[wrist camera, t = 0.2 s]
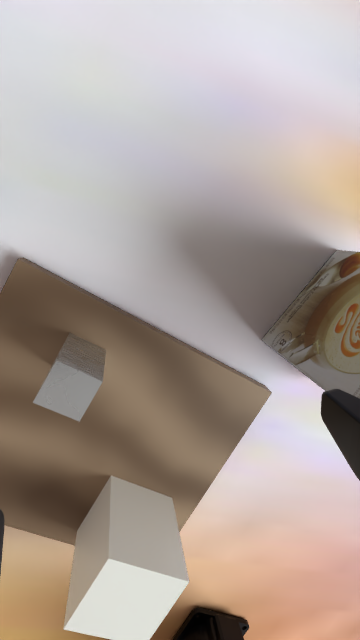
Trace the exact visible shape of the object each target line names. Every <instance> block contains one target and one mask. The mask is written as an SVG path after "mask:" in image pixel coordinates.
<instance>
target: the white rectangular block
mask: <svg viewBox="0 0 360 640" xmlns="http://www.w3.org/2000/svg"><path fill="white" fill-rule="evenodd" d="M188 583H189V578H188V573H187V568H186V563H185V558H184V553H183V549H182V544H181V539H180V534H179V529H178V524H177V519H176V514H175V509H174V504H173V500H172V498H171V497H168V496H166V495H163V494H160V493H157V492H155V491H152V490H149V489H146V488H144V487H141V486H138V485H136V484H133V483H130V482H127V481H125V480H122V479H119V478H117V477H114V476H110V478H109V480H108V481H107V483H106V485H105V486H104V488H103V489H102V491H101V493H100V494H99V496H98V498H97V499H96V501H95V503H94V504H93V506H92V507H91V509H90V511H89V512H88V514H87V516H86V517H85V519H84V520H83V522H82V524H81V525H80V527H79V529H78V530H77V535H76V542H75V550H74V557H73V564H72V571H71V578H70V585H69V593H68V600H67V607H66V614H65V621H64V630H68V631H73V632H78V633H82V634H87V635H92V636H97V637H101V638H106V639H111V640H150V638H151V637H152V635H153V634H154V633H155V631H156V630H157V628H158V627H159V625H160V624H161V622H162V621H163V619H164V618H165V616H166V615H167V614H168V612H169V611H170V609H171V608H172V606H173V605H174V603H175V602H176V600H177V599H178V598H179V596H180V595H181V593H182V592H183V590H184V589H185V587H186V586H187V584H188Z"/></svg>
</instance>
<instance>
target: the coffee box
mask: <svg viewBox="0 0 360 640" xmlns="http://www.w3.org/2000/svg"><path fill="white" fill-rule="evenodd" d="M262 341H263V342H264V343H265V344H266V345H268V346H269V347H270V348H272V349H273V350H274V351H276V352H277V353H278V354H279V355H281V356H282V357H283V358H284V359H286V360H287V361H288V362H289V363H291V364H292V365H293V366H294V367H296V368H297V369H298V370H299V371H301V372H302V373H303V374H304V375H306V376H307V377H308V378H310V379H311V380H312V381H313V382H315V383H316V384H317V385H318V386H320V387H321V388H322V389H324V390H325V391H328V390H332V389H340V390H343V391H345V392H347V393H349V394H351V395H354V396H356V397H358V398H360V252H352V251H342V250H337V251H336V252H335V253H334V254H333V255H332V256H331V257H330V259H329V260H328V261H327V262H326V263H325V265H324V266H323V267H322V268H321V269H320V271H319V272H318V273H317V274H316V275H315V277H314V278H313V279H312V280H311V281H310V283H309V284H308V285H307V286H306V287H305V288H304V290H303V291H302V292H301V293H300V294H299V296H298V297H297V298H296V299H295V300H294V302H293V303H292V304H291V305H290V306H289V307H288V309H287V310H286V311H285V312H284V313H283V315H282V316H281V317H280V318H279V319H278V321H277V322H276V323H275V324H274V325H273V327H272V328H271V329H270V330H269V331H268V333H267V334H266V335H265V336H264V338H263V339H262Z"/></svg>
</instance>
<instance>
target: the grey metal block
mask: <svg viewBox="0 0 360 640" xmlns="http://www.w3.org/2000/svg"><path fill="white" fill-rule="evenodd" d="M105 356H106V350H105V349H103V348H101V347H99V346H97V345H95V344H93V343H91V342H89V341H87V340H85V339H83V338H81V337H78V336H76V335H74V334H72V333H69V335H68V337H67V339H66V341H65V342H64V344H63V346H62V348H61V350H60V351H59V353H58V355H57V357H56V359H55V360H54V362H53V364H52V366H51V368H50V370H49V372H48V374H47V376H46V378H45V380H44V382H43V384H42V385H41V387H40V389H39V391H38V393H37V395H36V397H35V399H34V401H33V403H35V404H37V405H40V406H42V407H45V408H47V409H50V410H52V411H55V412H57V413H60V414H62V415H64V416H67V417H69V418H72V419H74V420H77V421H79V422H80V420H81V418H82V416H83V415H84V413H85V411H86V410H87V408H88V406H89V404H90V403H91V401H92V399H93V398H94V396H95V394H96V392H97V391H98V389H99V387H100V386H101V384H102V382H103V375H104V365H105Z"/></svg>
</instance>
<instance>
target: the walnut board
mask: <svg viewBox="0 0 360 640" xmlns="http://www.w3.org/2000/svg"><path fill="white" fill-rule="evenodd" d="M69 333H72V334H74V335H76V336H78V337H81V338H83V339H85V340H87V341H89V342H91V343H93V344H95V345H97V346H99V347H101V348H103V349H105V350H106V356H105V365H104V375H103V382H102V384H101V386H100V387H99V389H98V391H97V392H96V394H95V396H94V398H93V399H92V401H91V403H90V404H89V406H88V408H87V410H86V411H85V413H84V415H83V416H82V418H81V420H80V422H79V421H77V420H74V419H72V418H69V417H67V416H64V415H62V414H60V413H57V412H55V411H52V410H50V409H47V408H45V407H42V406H40V405H37V404H35V403H33V401H34V399H35V397H36V395H37V393H38V391H39V389H40V387H41V385H42V384H43V382H44V380H45V378H46V376H47V374H48V372H49V370H50V368H51V366H52V364H53V362H54V360H55V359H56V357H57V355H58V353H59V351H60V350H61V348H62V346H63V344H64V342H65V341H66V339H67V337H68V335H69ZM271 393H272V392H271V391H270V390H269V389H268V388H267V387H266V386H265V385H263V384H261V383H259V382H257V381H255V380H253V379H251V378H249V377H248V376H246V375H244V374H242V373H240V372H238V371H236V370H234V369H233V368H231V367H229V366H227V365H225V364H223V363H221V362H219V361H217V360H216V359H214V358H212V357H210V356H208V355H206V354H204V353H202V352H200V351H199V350H197V349H195V348H193V347H191V346H189V345H187V344H185V343H184V342H182V341H180V340H178V339H176V338H174V337H172V336H170V335H168V334H167V333H165V332H163V331H161V330H159V329H157V328H155V327H153V326H151V325H150V324H148V323H146V322H144V321H142V320H140V319H138V318H136V317H135V316H133V315H131V314H129V313H127V312H125V311H123V310H121V309H119V308H118V307H116V306H114V305H112V304H110V303H108V302H106V301H104V300H102V299H101V298H99V297H97V296H95V295H93V294H91V293H89V292H87V291H85V290H84V289H82V288H80V287H78V286H76V285H74V284H72V283H70V282H69V281H67V280H65V279H63V278H61V277H59V276H57V275H55V274H53V273H52V272H50V271H48V270H46V269H44V268H42V267H40V266H38V265H36V264H35V263H33V262H31V261H29V260H27V259H25V258H20V259H18V260H17V262H16V264H15V266H14V268H13V270H12V272H11V273H10V275H9V277H8V279H7V281H6V283H5V285H4V287H3V289H2V291H1V293H0V509H1V510H2V512H3V514H4V519H5V523H4V525H6V526H10V527H13V528H16V529H20V530H23V531H27V532H30V533H34V534H37V535H41V536H44V537H47V538H51V539H54V540H58V541H61V542H65V543H68V544H71V545H75V542H76V535H77V530H78V529H79V527H80V525H81V524H82V522H83V520H84V519H85V517H86V516H87V514H88V512H89V511H90V509H91V507H92V506H93V504H94V503H95V501H96V499H97V498H98V496H99V494H100V493H101V491H102V489H103V488H104V486H105V485H106V483H107V481H108V480H109V478H110V476H114V477H117V478H119V479H122V480H125V481H127V482H130V483H133V484H136V485H138V486H141V487H144V488H146V489H149V490H152V491H155V492H157V493H160V494H163V495H166V496H168V497H171V498H172V500H173V504H174V509H175V514H176V519H177V524H178V529H179V532H180V530H181V529H182V527H183V526H184V524H185V523H186V521H187V520H188V518H189V517H190V515H191V514H192V512H193V511H194V509H195V508H196V506H197V505H198V503H199V502H200V500H201V499H202V497H203V496H204V494H205V493H206V491H207V490H208V488H209V487H210V485H211V484H212V482H213V481H214V479H215V478H216V476H217V474H218V473H219V471H220V470H221V468H222V467H223V465H224V464H225V462H226V461H227V459H228V458H229V456H230V455H231V453H232V452H233V450H234V449H235V447H236V446H237V444H238V443H239V441H240V440H241V438H242V437H243V435H244V434H245V432H246V431H247V429H248V428H249V426H250V425H251V423H252V422H253V420H254V419H255V417H256V416H257V414H258V413H259V411H260V410H261V408H262V407H263V405H264V404H265V402H266V401H267V399H268V398H269V396H270V395H271Z"/></svg>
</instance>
